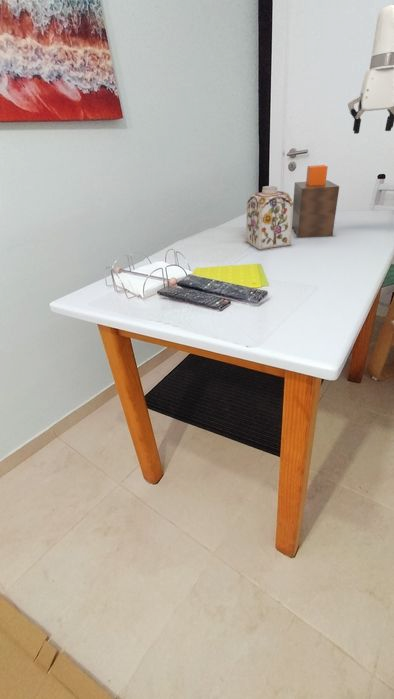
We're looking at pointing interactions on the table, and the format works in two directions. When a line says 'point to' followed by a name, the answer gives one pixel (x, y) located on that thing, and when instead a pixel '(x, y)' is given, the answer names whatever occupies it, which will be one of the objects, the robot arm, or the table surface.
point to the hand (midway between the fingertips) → (371, 132)
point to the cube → (316, 175)
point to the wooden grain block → (314, 209)
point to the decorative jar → (269, 218)
